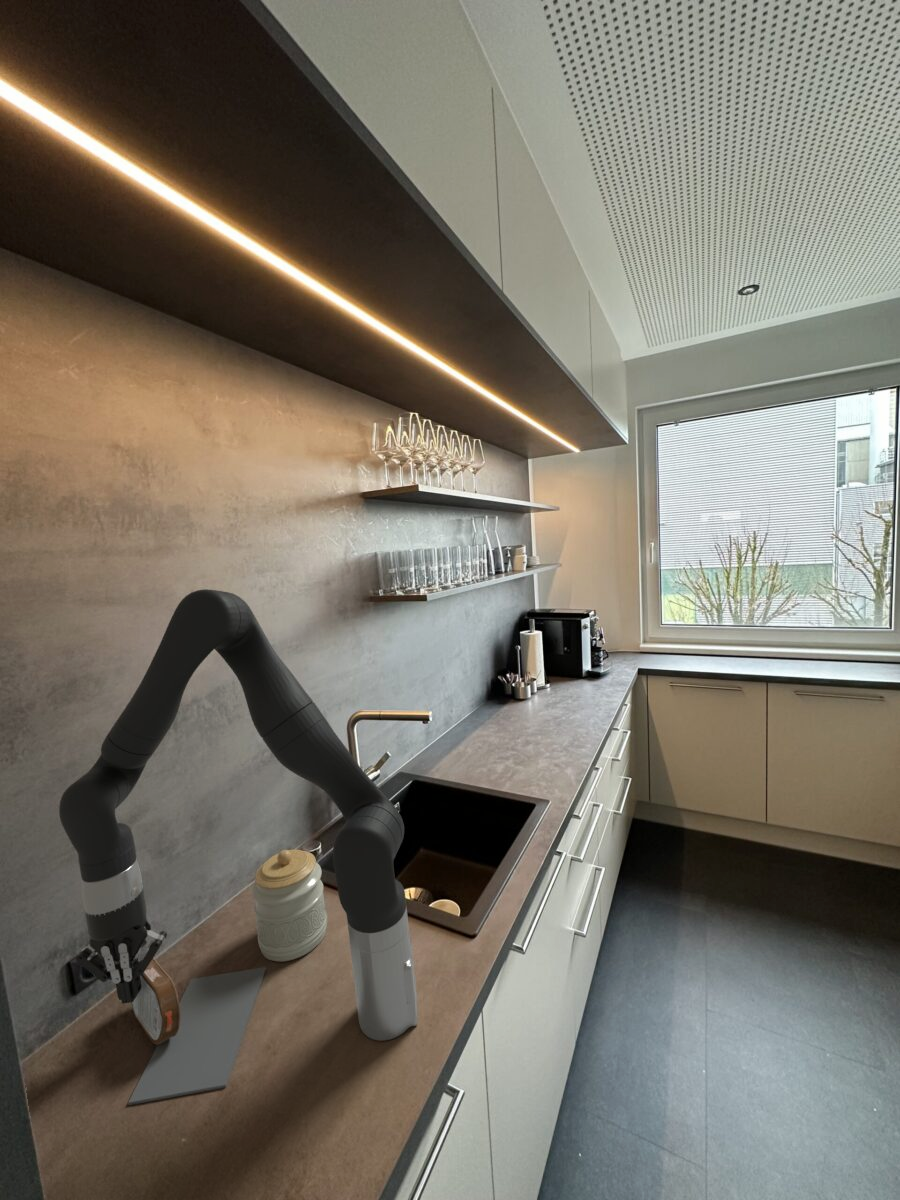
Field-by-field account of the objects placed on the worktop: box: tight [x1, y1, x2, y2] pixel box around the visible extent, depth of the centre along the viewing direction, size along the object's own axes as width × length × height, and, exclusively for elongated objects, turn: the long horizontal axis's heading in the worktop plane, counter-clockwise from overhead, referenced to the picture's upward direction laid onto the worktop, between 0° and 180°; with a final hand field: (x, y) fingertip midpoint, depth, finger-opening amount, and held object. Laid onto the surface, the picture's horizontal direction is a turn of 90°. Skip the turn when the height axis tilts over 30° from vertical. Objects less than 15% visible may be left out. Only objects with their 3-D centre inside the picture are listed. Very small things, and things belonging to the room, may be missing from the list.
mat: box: [127, 966, 267, 1106], centre depth 77 cm, size 13×20×1 cm, turn 6°
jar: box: [251, 849, 328, 962], centre depth 94 cm, size 13×13×18 cm
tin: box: [130, 957, 180, 1046], centre depth 78 cm, size 15×3×8 cm, turn 50°
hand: (130, 998), depth 76 cm, fingers closed
